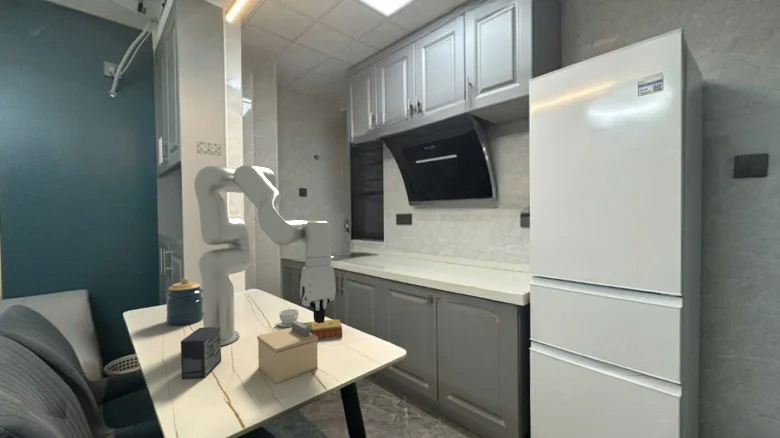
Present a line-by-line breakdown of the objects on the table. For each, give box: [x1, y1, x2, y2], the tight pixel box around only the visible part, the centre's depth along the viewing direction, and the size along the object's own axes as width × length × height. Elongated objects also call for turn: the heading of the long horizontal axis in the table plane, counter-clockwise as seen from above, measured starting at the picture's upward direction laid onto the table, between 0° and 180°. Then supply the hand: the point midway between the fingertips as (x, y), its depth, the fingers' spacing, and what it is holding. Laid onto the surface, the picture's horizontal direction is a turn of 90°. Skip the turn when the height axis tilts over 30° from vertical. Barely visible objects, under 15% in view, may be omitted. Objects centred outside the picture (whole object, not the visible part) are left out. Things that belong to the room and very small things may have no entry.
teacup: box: [275, 308, 303, 328], centre depth 132 cm, size 10×10×5 cm
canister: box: [165, 277, 203, 326], centre depth 135 cm, size 13×13×18 cm
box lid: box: [256, 321, 319, 352], centre depth 93 cm, size 12×12×3 cm
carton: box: [301, 318, 343, 340], centre depth 119 cm, size 8×16×4 cm, turn 106°
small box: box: [180, 327, 222, 380], centre depth 93 cm, size 11×6×10 cm, turn 5°
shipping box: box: [257, 339, 319, 384], centre depth 94 cm, size 12×12×8 cm
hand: (319, 321), depth 100 cm, fingers closed
